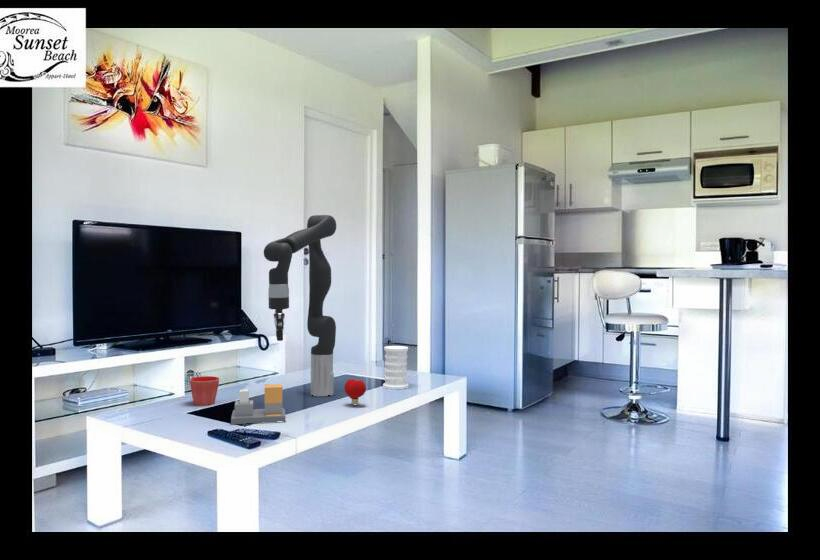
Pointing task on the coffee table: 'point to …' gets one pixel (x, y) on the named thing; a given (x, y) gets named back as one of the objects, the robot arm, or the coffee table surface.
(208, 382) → the flower pot
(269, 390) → the orange wooden cube
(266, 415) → the breaker panel
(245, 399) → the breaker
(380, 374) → the coffee table surface
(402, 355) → the decorative container
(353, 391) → the light bulb
